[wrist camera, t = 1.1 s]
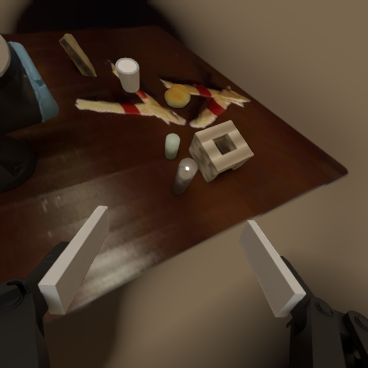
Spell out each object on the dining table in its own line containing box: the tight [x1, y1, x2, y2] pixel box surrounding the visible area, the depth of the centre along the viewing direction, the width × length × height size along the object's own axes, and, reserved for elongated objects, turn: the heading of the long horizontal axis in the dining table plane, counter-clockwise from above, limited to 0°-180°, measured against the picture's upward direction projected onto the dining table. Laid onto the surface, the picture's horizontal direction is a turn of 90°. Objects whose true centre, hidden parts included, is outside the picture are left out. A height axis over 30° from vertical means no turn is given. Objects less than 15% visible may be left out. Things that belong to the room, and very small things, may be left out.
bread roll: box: [165, 84, 190, 108], centre depth 53 cm, size 8×9×4 cm
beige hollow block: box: [189, 120, 254, 183], centre depth 45 cm, size 12×12×9 cm
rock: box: [59, 34, 97, 77], centre depth 50 cm, size 11×9×10 cm
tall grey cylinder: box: [172, 158, 198, 195], centre depth 37 cm, size 4×4×16 cm
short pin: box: [165, 134, 180, 160], centre depth 44 cm, size 4×4×8 cm
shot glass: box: [115, 58, 139, 93], centre depth 50 cm, size 7×7×7 cm
